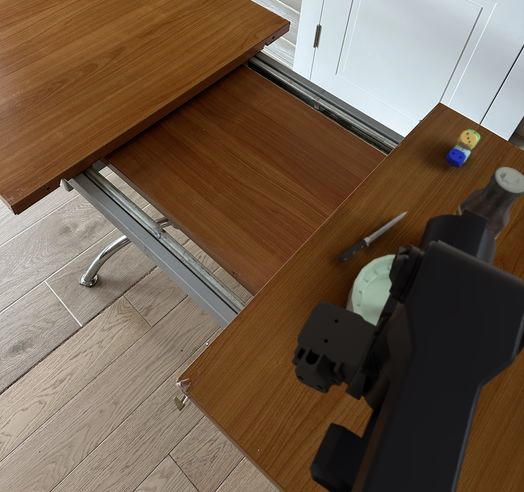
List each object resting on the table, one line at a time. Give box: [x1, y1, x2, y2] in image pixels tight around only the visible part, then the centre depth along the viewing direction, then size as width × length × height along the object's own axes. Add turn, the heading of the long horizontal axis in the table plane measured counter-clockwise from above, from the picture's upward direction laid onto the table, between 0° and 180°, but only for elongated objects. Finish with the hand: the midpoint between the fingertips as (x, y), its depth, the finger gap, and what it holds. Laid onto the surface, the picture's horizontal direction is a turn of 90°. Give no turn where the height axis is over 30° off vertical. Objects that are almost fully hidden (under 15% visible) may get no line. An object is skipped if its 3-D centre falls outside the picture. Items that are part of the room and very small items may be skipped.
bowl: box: [345, 254, 396, 326], centre depth 69 cm, size 15×15×4 cm
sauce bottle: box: [452, 166, 524, 240], centre depth 71 cm, size 7×6×20 cm
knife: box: [338, 210, 409, 264], centre depth 78 cm, size 15×1×2 cm, turn 128°
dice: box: [445, 128, 481, 168], centre depth 89 cm, size 8×3×6 cm, turn 140°
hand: (367, 413), depth 51 cm, fingers open, 9 cm apart
